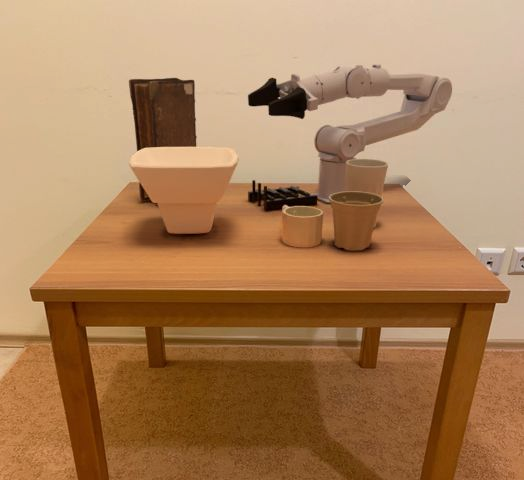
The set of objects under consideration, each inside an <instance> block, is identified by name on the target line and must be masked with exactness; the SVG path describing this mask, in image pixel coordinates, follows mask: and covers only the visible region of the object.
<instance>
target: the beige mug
mask: <svg viewBox="0 0 524 480" xmlns="http://www.w3.org/2000/svg"><path fill="white" fill-rule="evenodd" d="M323 223H324V211H323V210H322V209H320V208H319V207H314V206H294V207H289V206H287V205H284V206H283V207H282V210H281V226H282V227H281V241H282V243H283V244H285V245H287V246H289V247H294V248H312V247H316V246H319V245H320V244H321V243H322V239H323V237H322V236H323Z"/></svg>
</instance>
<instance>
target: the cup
mask: <svg viewBox="0 0 524 480" xmlns="http://www.w3.org/2000/svg"><path fill="white" fill-rule="evenodd" d="M388 167H389V162H387V161H384V160H381V159H374V158H373V159H372V158H356V159H353V160H348V161H346V191H360V192H369V193H373V194H377V195H379V196H381V197H383V191H384V186H385V181H386V177H387V171H388ZM379 211H380V210H379ZM379 211H378V212H377V216H376V220H375V224H374V228H376V227H377V224H378V223H377V221H378V217H379V216H378V215H379Z"/></svg>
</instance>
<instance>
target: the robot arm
mask: <svg viewBox="0 0 524 480" xmlns="http://www.w3.org/2000/svg"><path fill="white" fill-rule="evenodd" d="M388 90H389V91H402V94H403V95H404V96H403V99H402V103H401V106H400V111H397V112H394V113H390V114H387V115H383V116H380V117H379V116H378V117H376V118H373V119H369V120H365V121H362V122H358V123H355V124H354V123H353V124H349V125H348V124H347V125H337V126H336V125H335V126H332V125H330V124H324V125H322V126H320V127H319V128H318V129H317V131H316V133H315V135H314V139H313V141H314V142H313V145H314V148H315V150H316V151H317V152H318V155H317V157H318V158H319V164H318V178H317V179H318V180H317V181H318V182H317V192H312V193H309V194H310V195H318V198H317V200H319V201H321V202H323V203H326V204H331V201H330V200H329V196H330V195H331V194H333V193H337V192H344V191H346V161H348V160H353V159H357V158H356V156H357V155H358V154H359V153H361V152H364V151H365V149H366V146H370V145H372V144H376V143H379V142H383V141H385V140H389V139H392V138H395V137H399V136H402V135H405V134H408V133H412V132H416V131H417V130H419V129H420V128H422V127H423V126H424V125H425V124H426V123H428V122H429V120H430V119H432V117H434V116H435V115H436V114H438V113H440V112H441V113H442V112H443V111H445V109H446V108H447V105H448V104H449V102H450V99H451V97H452V94H453V83H452V81H451V80H450V79H449V78H447V77H441V78H440V76H436V75H431V74H425V73H418V72H417V73H415V72H403V73H389V71H388V70H387V68H385V67H382V65H381V64H374V63H373V64H372V65H371V67H364V65H362V64H356V65H355V67H352V66H351V67H350V66H336V67H335V68H334V69H333V70H332V71H327V72H322V73H318V74H314V75H310V76H306V77H302V78H301V77H300V75H299V74H297V73H292V74H291V76H290V80H287V81H284V82H280V83H279V82H277V78H275V77H269V78H268V79H267V81H266V82H265V83H264V84H263V85H262V86H260V87H259V88H257V89H256V90H254V91H252V92H251V93H249V94H248V95H247V103H248V106H249V107H267V108H268V111H267V112H268V116H271V117H291V118H297V119H299V120H300V119H301V120H303V119H304V120H305V116H306V111H307V112H308V111H309V112H313V111H317V110H318V109H319V106H321V105H324V104H328V103H333V102H335V101H338V100H341V99H345V98H350V99H357V100H359V99H360V98H365V97H366V98H367V97H383V96H384V95H385V94H386V93H387V92H388Z"/></svg>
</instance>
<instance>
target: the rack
mask: <svg viewBox="0 0 524 480" xmlns="http://www.w3.org/2000/svg"><path fill="white" fill-rule="evenodd" d="M251 183H252V184H251V186H252V187H251V190H250V191H247V201H248V202H249V203H252V204H256V202H257V206H258V207H262V202H263V210H264V212H273V211H282V207H283V206H284V205H287V206H289V207H294V206H309V207H314V206H318V199H317V198H318V195H310V194H311V193H309V192H308V191H305V190H304V189H300V187H299V186H297V185H296V186H295V185H290V186H286V187H283V186H279V187H278V188H277V187H276V188H271V187H268V185H264V186H263V189H262V183H261V182H257V189H256V180H255V179H252V181H251Z"/></svg>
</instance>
